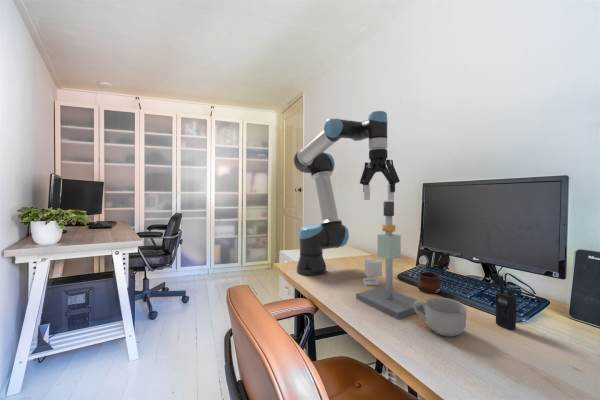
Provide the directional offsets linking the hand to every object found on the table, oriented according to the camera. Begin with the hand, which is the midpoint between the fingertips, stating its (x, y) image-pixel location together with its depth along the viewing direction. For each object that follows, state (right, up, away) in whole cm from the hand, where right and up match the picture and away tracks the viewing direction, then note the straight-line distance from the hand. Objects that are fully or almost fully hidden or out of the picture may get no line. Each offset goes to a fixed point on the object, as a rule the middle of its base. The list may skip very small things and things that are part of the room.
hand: (378, 200), depth 119 cm
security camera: (-1, -37, +6) cm, 37 cm away
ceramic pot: (+20, -37, -4) cm, 42 cm away
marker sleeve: (-1, -20, -17) cm, 27 cm away
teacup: (+8, -38, -36) cm, 53 cm away
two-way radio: (+29, -38, -34) cm, 59 cm away
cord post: (-1, -37, -17) cm, 41 cm away
